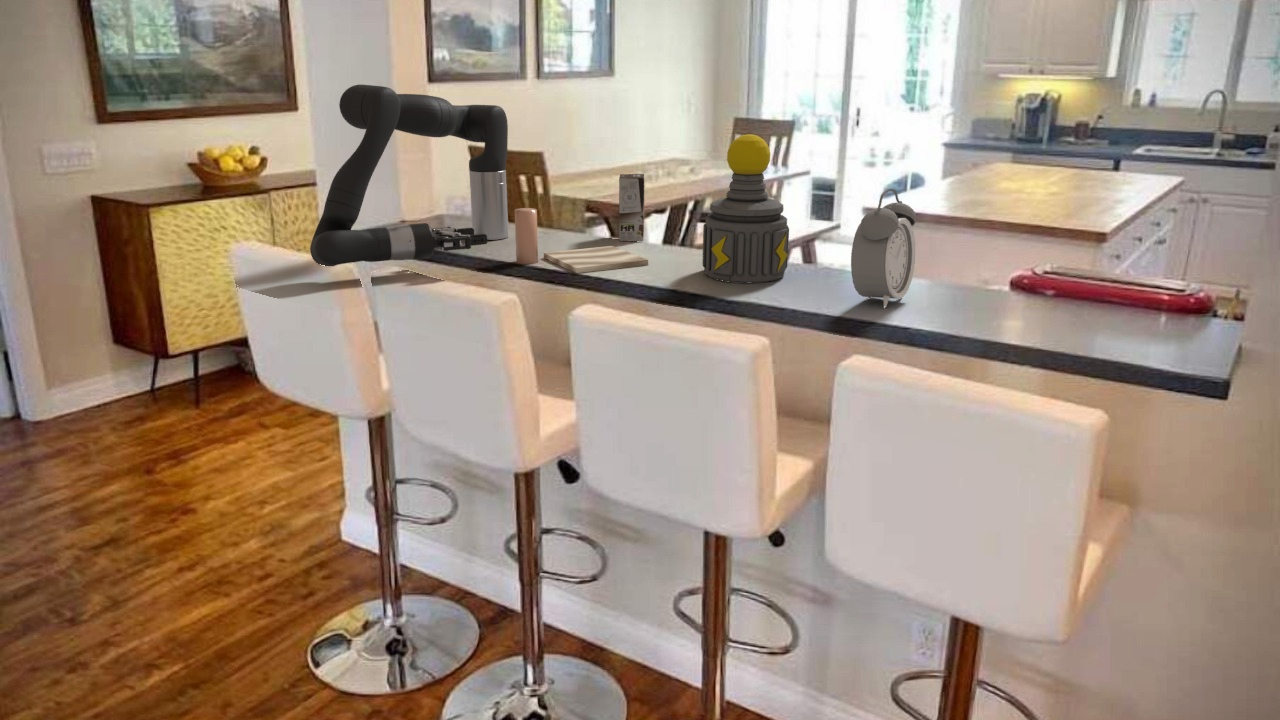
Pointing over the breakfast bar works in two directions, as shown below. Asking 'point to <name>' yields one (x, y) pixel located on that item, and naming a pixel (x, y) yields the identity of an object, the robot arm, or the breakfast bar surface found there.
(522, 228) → the terracotta canister
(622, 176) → the coffee box
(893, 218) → the alarm clock
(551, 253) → the ash board
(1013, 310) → the breakfast bar surface
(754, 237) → the decorative lamp
